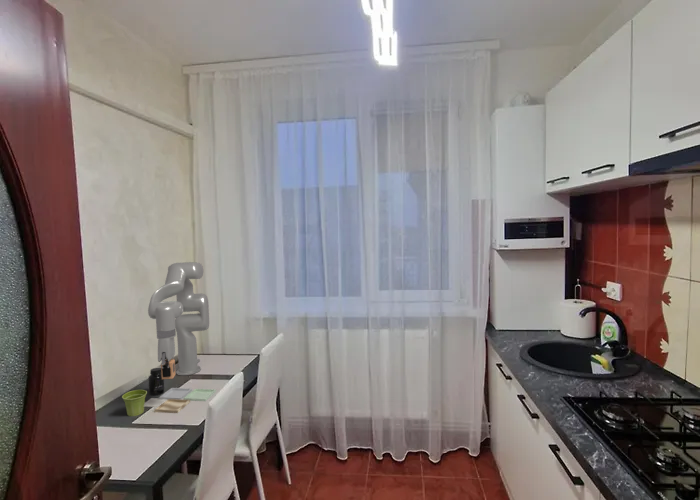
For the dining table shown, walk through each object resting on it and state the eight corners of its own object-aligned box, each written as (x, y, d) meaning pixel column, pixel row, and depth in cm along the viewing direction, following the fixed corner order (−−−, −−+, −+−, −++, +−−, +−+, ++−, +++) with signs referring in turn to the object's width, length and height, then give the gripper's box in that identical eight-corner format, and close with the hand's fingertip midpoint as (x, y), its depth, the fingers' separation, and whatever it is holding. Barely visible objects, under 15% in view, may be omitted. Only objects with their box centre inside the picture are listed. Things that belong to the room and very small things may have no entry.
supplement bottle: (158, 397, 190) (157, 372, 189) (145, 396, 191) (144, 371, 190) (168, 391, 197) (166, 367, 196) (155, 390, 198) (154, 366, 197)
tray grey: (171, 390, 197) (171, 387, 197) (192, 391, 196) (192, 388, 196) (158, 400, 187) (158, 397, 186) (180, 401, 185) (180, 398, 185)
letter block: (164, 375, 180) (163, 359, 180) (175, 374, 181) (174, 359, 180) (161, 379, 176) (160, 363, 175) (172, 378, 177) (172, 362, 176)
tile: (151, 399, 188) (151, 398, 188) (167, 400, 187) (167, 398, 187) (140, 407, 180) (140, 405, 180) (157, 407, 179) (157, 406, 179)
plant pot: (153, 410, 177) (152, 391, 176) (135, 420, 168) (133, 400, 167) (136, 407, 180) (135, 388, 179) (118, 417, 171) (116, 397, 170)
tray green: (195, 391, 196) (194, 388, 195) (216, 392, 194) (215, 389, 194) (183, 401, 185) (183, 398, 185) (205, 402, 184) (205, 399, 184)
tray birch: (168, 402, 184) (168, 399, 184) (190, 403, 183) (190, 399, 183) (154, 413, 174) (154, 409, 174) (177, 414, 173) (177, 410, 173)
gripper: (162, 328, 185) (164, 368, 186) (150, 339, 168) (153, 382, 169) (180, 327, 186) (182, 366, 187) (170, 338, 169) (172, 381, 171)
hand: (168, 373), depth 178 cm, fingers closed on letter block, 4 cm apart
